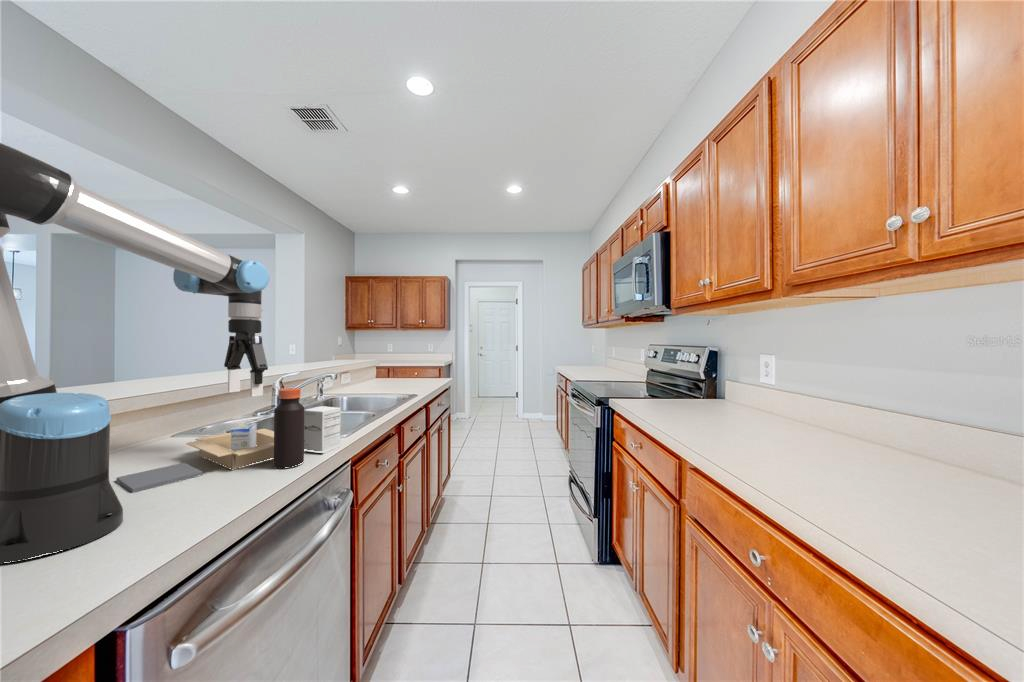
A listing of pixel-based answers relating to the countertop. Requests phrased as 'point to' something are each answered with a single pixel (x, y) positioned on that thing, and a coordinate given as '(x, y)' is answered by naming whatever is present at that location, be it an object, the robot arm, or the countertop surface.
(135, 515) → the countertop surface
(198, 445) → the carton
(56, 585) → the countertop surface
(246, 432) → the medicine box
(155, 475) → the mat
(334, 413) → the supplement box
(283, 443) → the bottle
